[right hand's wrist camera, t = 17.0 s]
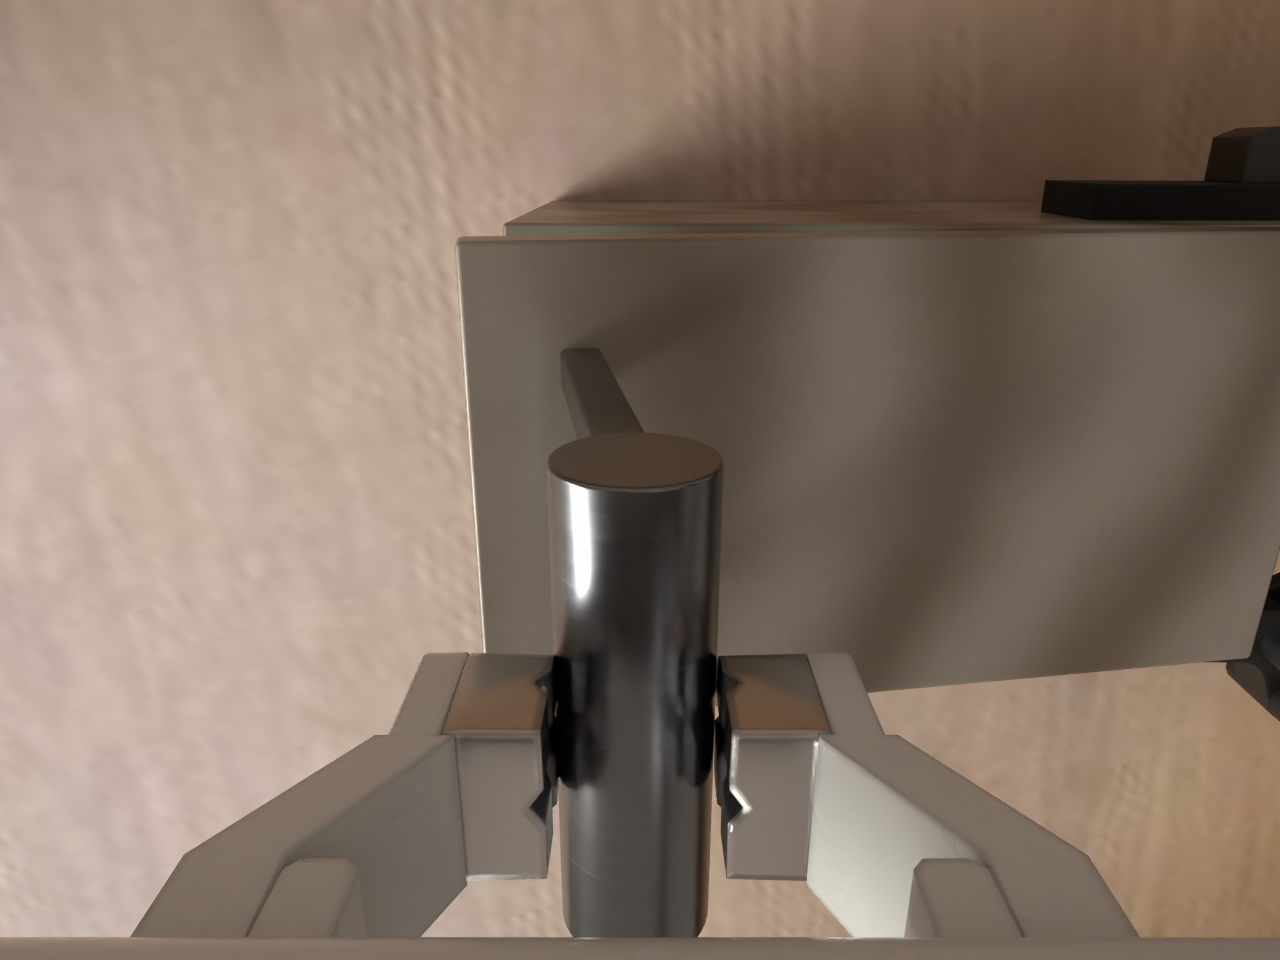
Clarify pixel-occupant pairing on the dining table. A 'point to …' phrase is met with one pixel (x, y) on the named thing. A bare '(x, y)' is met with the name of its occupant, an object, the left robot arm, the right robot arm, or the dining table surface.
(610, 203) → the chest
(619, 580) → the lid
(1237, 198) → the left robot arm
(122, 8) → the dining table surface
